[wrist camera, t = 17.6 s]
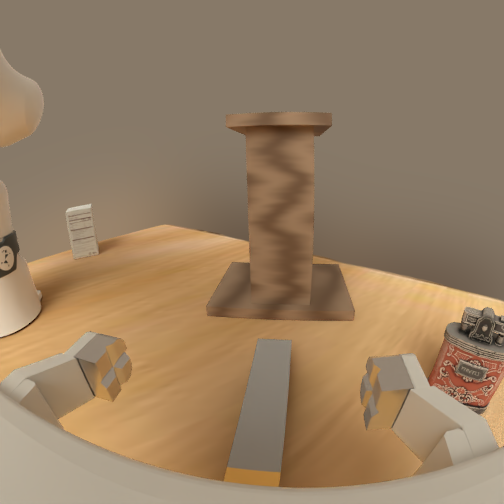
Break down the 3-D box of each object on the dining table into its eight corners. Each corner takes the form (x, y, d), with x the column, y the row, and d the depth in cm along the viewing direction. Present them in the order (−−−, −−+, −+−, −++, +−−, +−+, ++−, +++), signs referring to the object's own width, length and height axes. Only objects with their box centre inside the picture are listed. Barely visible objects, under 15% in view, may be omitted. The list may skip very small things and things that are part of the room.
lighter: (418, 396, 22) (451, 309, 18) (428, 376, 24) (456, 293, 21) (483, 419, 16) (530, 333, 13) (488, 398, 18) (527, 315, 15)
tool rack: (207, 315, 39) (192, 118, 31) (232, 269, 55) (225, 129, 47) (353, 320, 36) (365, 115, 28) (337, 271, 52) (341, 128, 44)
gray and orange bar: (198, 605, 5) (185, 607, 4) (258, 363, 29) (258, 338, 28) (256, 614, 4) (255, 619, 3) (290, 365, 29) (291, 340, 28)
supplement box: (75, 252, 69) (67, 208, 65) (99, 247, 72) (92, 203, 68) (73, 260, 63) (64, 211, 59) (99, 254, 66) (91, 206, 62)
